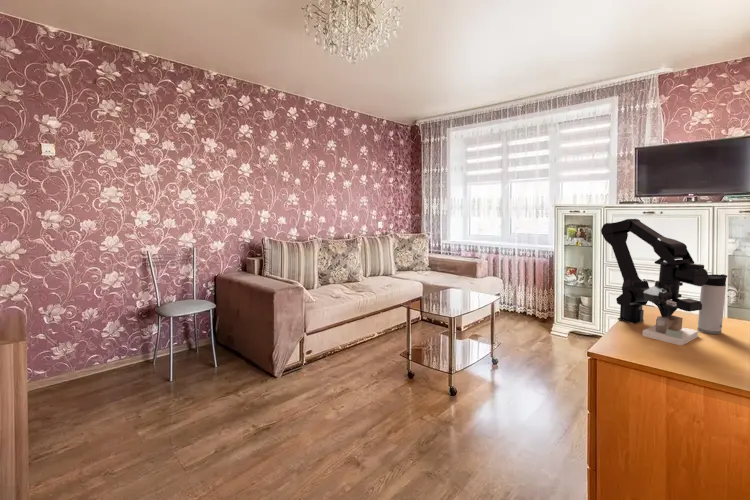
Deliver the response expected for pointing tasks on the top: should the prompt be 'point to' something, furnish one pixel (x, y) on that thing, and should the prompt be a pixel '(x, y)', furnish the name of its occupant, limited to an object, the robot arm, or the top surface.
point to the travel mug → (712, 304)
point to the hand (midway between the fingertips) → (665, 322)
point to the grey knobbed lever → (668, 323)
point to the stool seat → (671, 335)
